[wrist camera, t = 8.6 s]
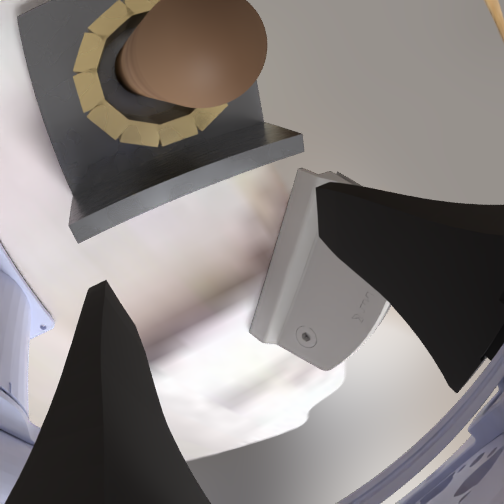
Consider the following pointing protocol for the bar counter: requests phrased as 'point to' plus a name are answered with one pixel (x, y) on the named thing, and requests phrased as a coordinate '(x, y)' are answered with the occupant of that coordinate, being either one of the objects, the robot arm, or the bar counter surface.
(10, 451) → the robot arm
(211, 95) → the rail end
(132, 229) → the bar counter surface
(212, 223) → the bar counter surface
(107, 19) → the cup bracket
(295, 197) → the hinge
